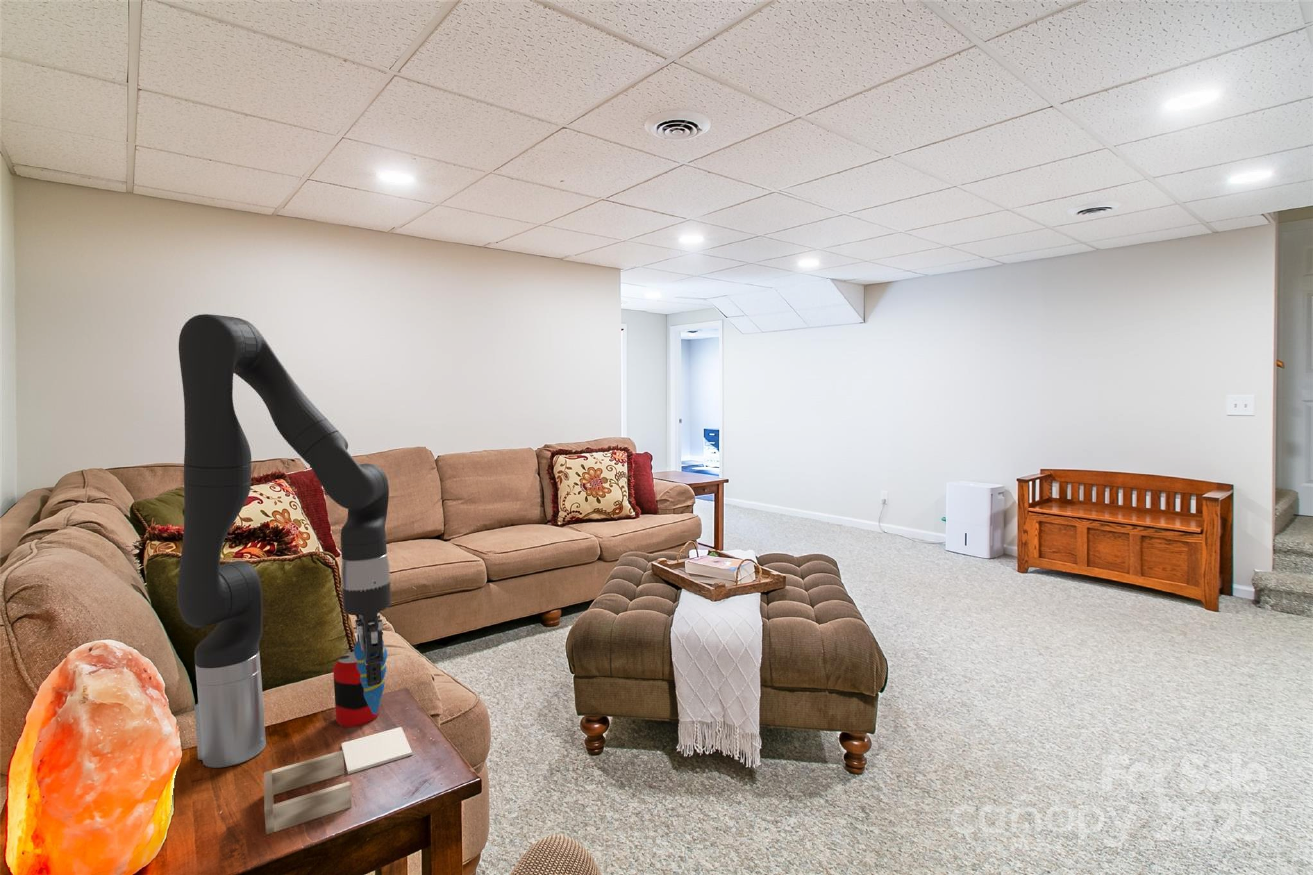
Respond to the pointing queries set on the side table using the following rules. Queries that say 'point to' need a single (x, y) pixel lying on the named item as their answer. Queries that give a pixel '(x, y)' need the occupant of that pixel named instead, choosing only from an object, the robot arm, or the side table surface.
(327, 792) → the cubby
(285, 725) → the side table surface
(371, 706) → the ornament
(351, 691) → the soda can
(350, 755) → the pad
